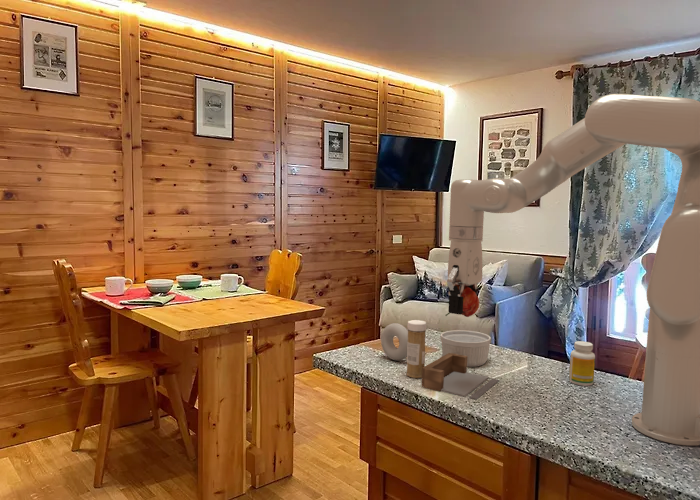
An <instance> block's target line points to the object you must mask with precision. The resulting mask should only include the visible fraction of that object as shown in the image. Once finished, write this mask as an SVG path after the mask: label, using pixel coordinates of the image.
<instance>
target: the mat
mask: <svg viewBox="0 0 700 500" xmlns="http://www.w3.org/2000/svg"><path fill="white" fill-rule="evenodd" d="M489 378H490V377H489V376H486V375H483V374H477V373H472V372H468V371H467V372H466V373H460V372H455V371H454V372H452V373H451V374H449V375H447V376H446V377H444V385H443V388H442V389H441V391H440V392H442V393H447V394H452V395H456V396H460V397H464V398H466V397H467V396H468V395H470V393H472V392H473V391H475V390H476V389H477V388H479V386H481V385H482V384H483V383H485V382H486V381H488V380H489Z"/></svg>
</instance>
